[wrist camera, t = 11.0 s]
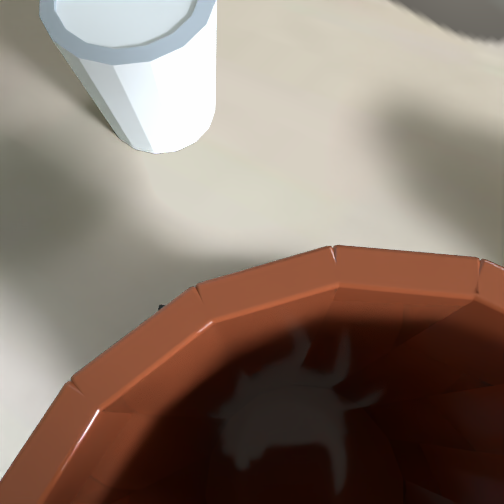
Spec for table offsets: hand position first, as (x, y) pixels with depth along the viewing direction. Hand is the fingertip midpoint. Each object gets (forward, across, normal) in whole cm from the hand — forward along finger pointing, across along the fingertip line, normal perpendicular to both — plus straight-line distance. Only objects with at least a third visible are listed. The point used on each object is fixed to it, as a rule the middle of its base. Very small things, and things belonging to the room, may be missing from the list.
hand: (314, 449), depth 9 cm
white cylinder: (+18, +5, -5) cm, 20 cm away
